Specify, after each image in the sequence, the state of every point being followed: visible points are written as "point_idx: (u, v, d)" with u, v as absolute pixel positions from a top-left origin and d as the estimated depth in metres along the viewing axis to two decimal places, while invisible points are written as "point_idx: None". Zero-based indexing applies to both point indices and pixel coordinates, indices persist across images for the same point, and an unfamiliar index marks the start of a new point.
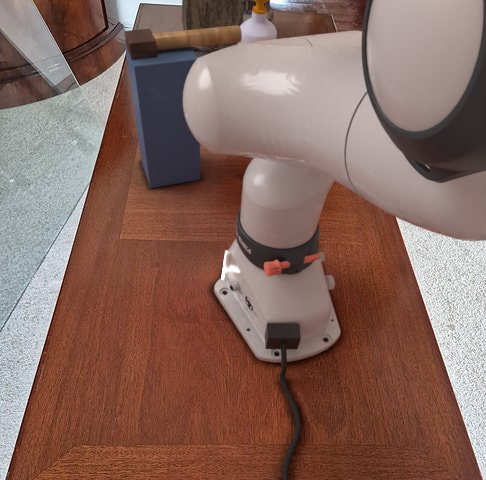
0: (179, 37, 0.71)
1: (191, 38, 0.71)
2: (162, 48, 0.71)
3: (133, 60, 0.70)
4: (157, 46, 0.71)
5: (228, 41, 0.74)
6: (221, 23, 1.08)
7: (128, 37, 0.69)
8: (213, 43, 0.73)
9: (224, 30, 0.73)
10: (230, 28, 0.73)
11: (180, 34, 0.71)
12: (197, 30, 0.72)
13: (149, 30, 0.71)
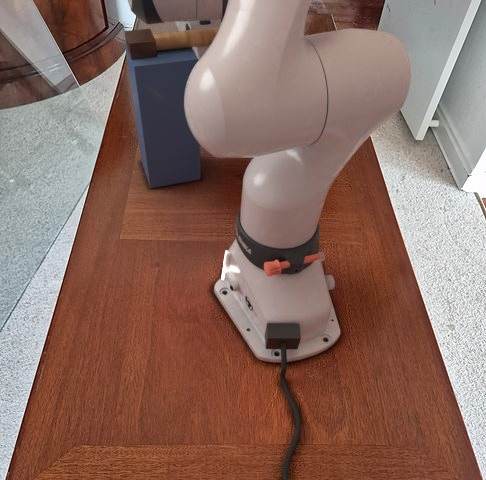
0: (179, 37, 0.71)
1: (191, 38, 0.71)
2: (162, 48, 0.71)
3: (133, 60, 0.70)
4: (157, 46, 0.71)
5: None
6: None
7: (128, 37, 0.69)
8: None
9: None
10: None
11: (180, 34, 0.71)
12: (197, 30, 0.72)
13: (149, 30, 0.71)
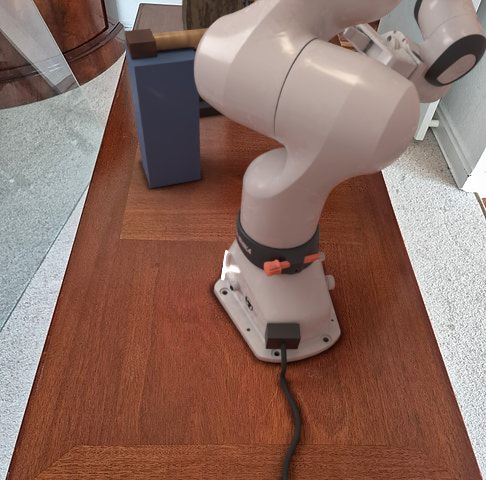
0: (179, 37, 0.71)
1: (191, 38, 0.71)
2: (162, 48, 0.71)
3: (133, 60, 0.70)
4: (157, 46, 0.71)
5: None
6: None
7: (128, 37, 0.69)
8: None
9: None
10: None
11: (180, 34, 0.71)
12: (197, 30, 0.72)
13: (149, 30, 0.71)
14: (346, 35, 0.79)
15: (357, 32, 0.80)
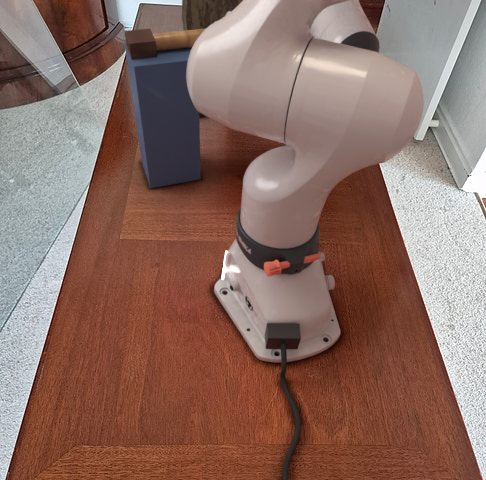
0: (179, 37, 0.71)
1: (191, 38, 0.71)
2: (162, 48, 0.71)
3: (133, 60, 0.70)
4: (157, 46, 0.71)
5: None
6: None
7: (128, 37, 0.69)
8: None
9: None
10: None
11: (180, 34, 0.71)
12: (197, 30, 0.72)
13: (149, 30, 0.71)
14: None
15: None
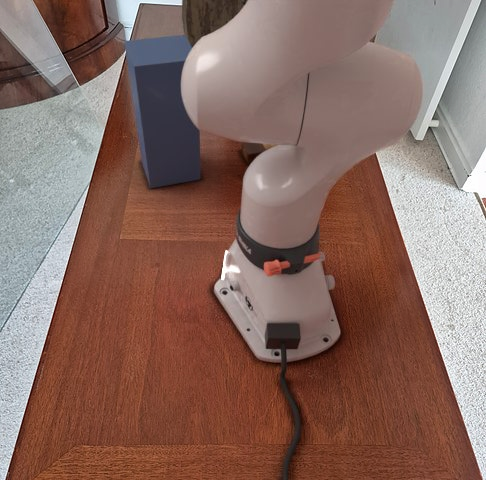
0: None
1: None
2: None
3: (133, 60, 0.70)
4: None
5: None
6: (221, 23, 1.08)
7: (246, 148, 0.93)
8: None
9: None
10: None
11: None
12: None
13: None
14: None
15: None
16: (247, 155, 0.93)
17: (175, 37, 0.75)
